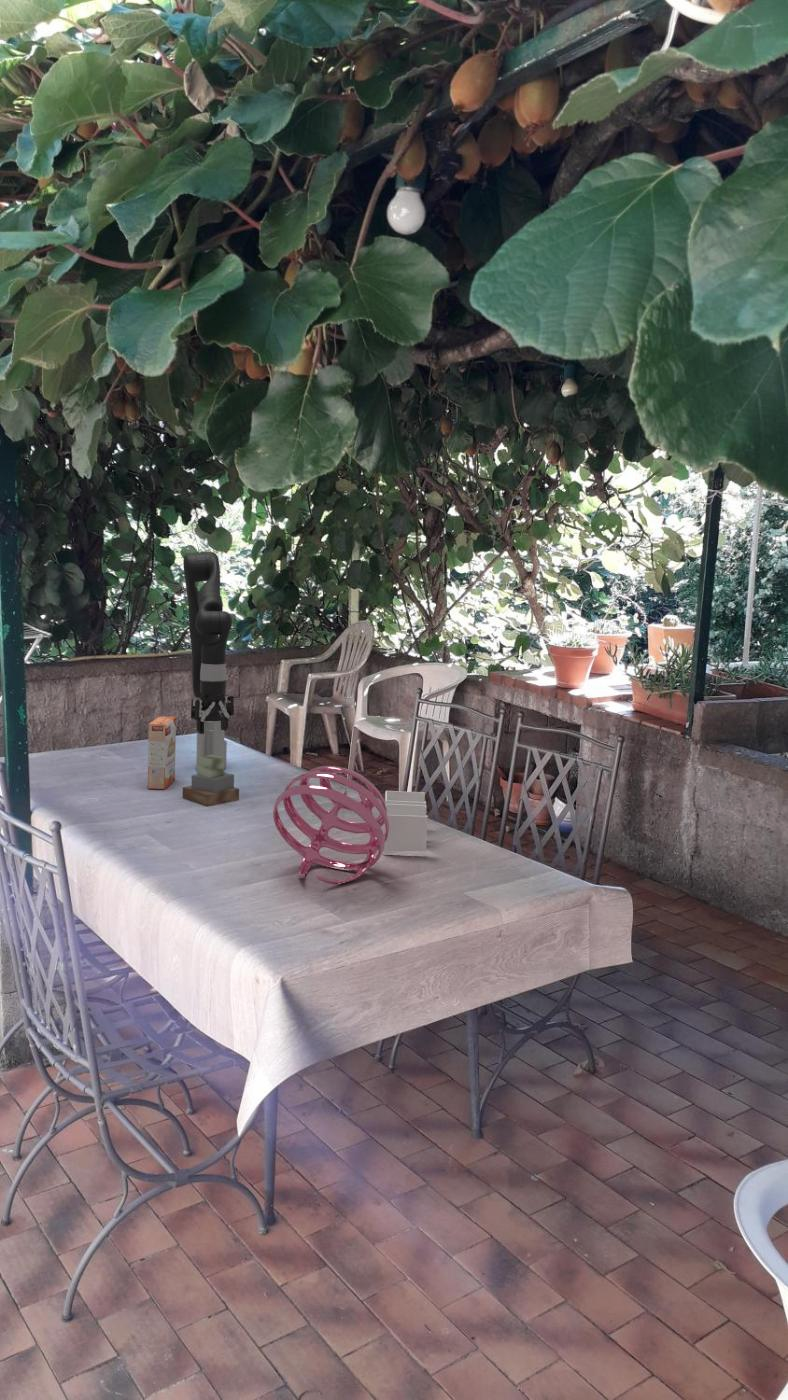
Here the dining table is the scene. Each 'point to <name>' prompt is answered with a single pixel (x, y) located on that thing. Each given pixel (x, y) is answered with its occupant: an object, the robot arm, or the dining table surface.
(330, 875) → the dining table surface
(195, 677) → the robot arm
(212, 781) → the top slab
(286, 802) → the spiral basket
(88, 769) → the dining table surface
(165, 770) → the cracker box
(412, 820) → the storage container
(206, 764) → the green cube
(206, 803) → the bottom slab
